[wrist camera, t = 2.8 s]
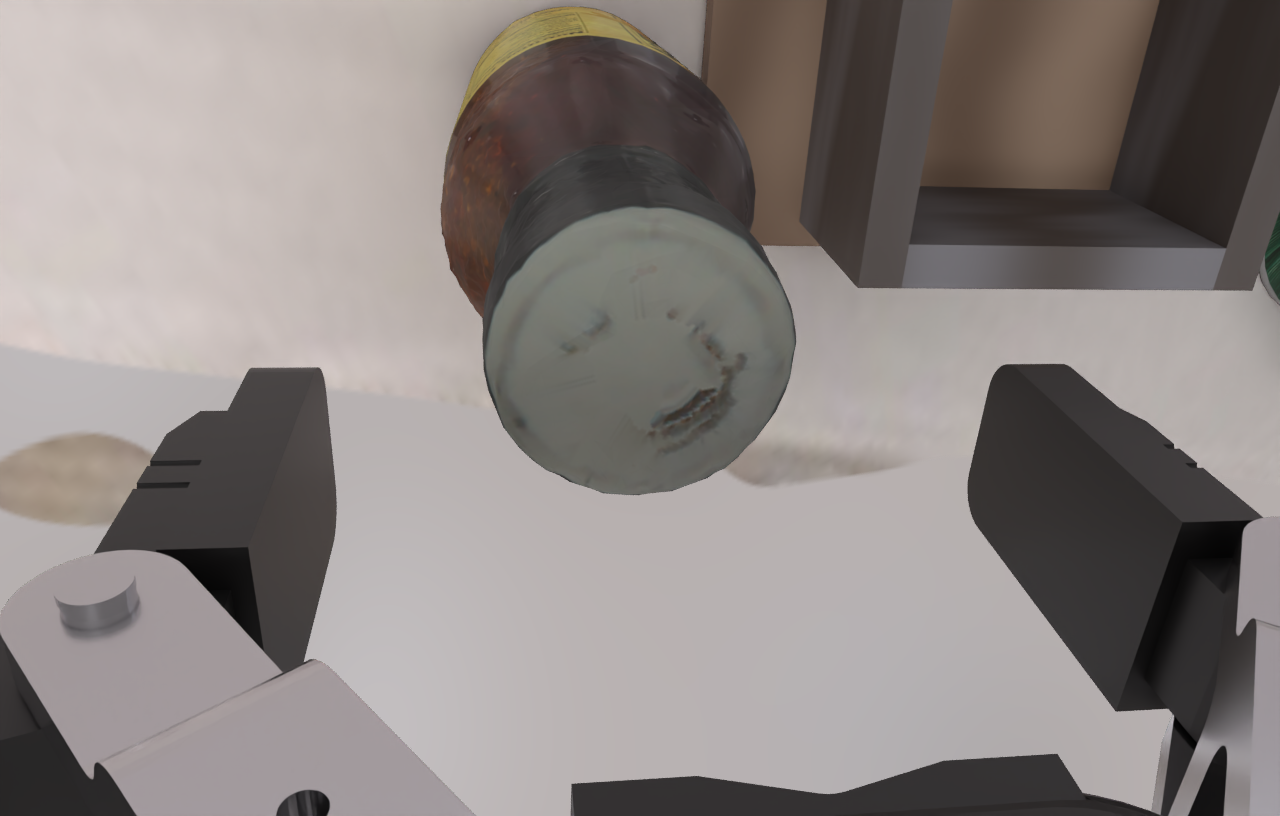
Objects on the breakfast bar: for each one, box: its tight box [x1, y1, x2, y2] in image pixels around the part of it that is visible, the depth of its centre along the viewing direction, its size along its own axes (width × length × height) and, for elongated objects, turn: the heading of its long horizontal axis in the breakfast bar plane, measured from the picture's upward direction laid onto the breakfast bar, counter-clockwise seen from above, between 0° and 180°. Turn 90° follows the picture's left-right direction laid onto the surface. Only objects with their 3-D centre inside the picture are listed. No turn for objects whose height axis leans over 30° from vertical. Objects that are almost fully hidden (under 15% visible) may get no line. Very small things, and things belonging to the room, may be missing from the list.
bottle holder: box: [701, 0, 1280, 291], centre depth 28 cm, size 18×14×7 cm
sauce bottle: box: [441, 7, 796, 495], centre depth 22 cm, size 7×6×20 cm
